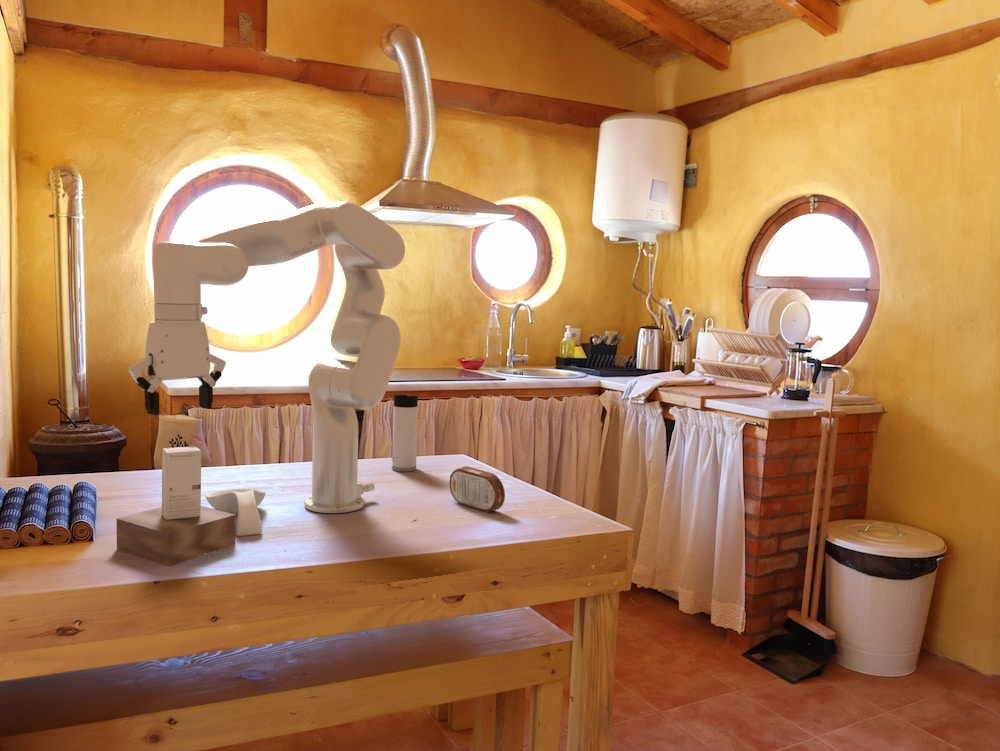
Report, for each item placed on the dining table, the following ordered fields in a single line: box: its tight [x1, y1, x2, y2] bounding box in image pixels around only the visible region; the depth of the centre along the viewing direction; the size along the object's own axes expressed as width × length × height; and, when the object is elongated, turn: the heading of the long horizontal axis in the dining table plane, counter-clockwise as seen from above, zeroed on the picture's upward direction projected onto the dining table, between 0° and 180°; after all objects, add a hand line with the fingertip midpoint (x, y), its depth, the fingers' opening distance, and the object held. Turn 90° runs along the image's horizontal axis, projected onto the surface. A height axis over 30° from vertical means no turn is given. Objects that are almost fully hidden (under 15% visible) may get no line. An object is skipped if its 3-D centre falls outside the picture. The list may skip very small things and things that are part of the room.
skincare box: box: [161, 446, 202, 520], centre depth 142 cm, size 6×4×12 cm
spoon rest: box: [205, 487, 266, 537], centre depth 160 cm, size 24×12×7 cm, turn 27°
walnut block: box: [115, 505, 236, 567], centre depth 142 cm, size 14×14×6 cm
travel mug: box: [391, 394, 419, 473], centre depth 206 cm, size 6×7×20 cm
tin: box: [449, 465, 506, 513], centre depth 174 cm, size 15×3×8 cm, turn 47°
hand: (180, 411), depth 140 cm, fingers open, 9 cm apart
